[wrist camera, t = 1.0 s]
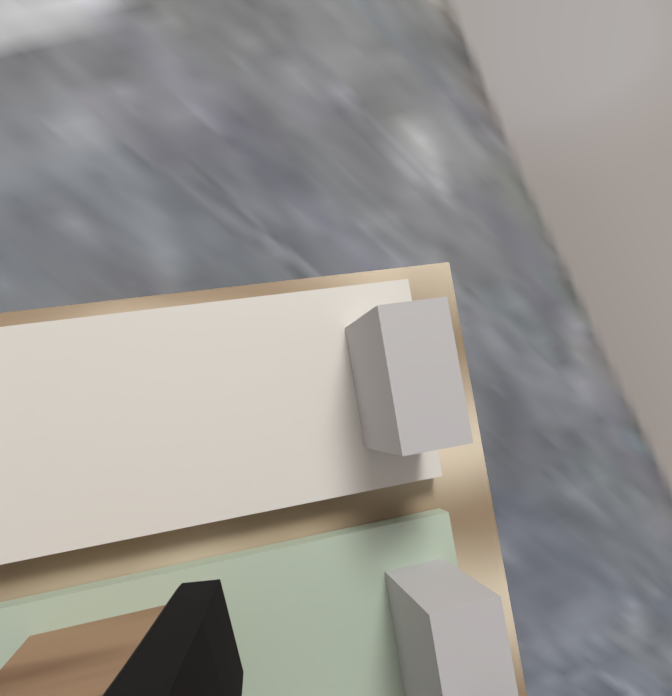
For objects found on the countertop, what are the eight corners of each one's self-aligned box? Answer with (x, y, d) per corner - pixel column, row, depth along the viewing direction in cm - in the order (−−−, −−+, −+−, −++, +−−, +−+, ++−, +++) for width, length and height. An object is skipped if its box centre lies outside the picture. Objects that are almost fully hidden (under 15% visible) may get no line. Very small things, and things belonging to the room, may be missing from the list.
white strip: (433, 473, 20) (499, 491, 15) (-7, 561, 17) (-95, 618, 12) (401, 284, 20) (455, 244, 15) (-30, 335, 17) (-124, 306, 13)
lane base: (515, 698, 20) (529, 712, 19) (38, 841, 17) (27, 868, 16) (438, 269, 22) (449, 262, 21) (-18, 321, 18) (-32, 316, 17)
